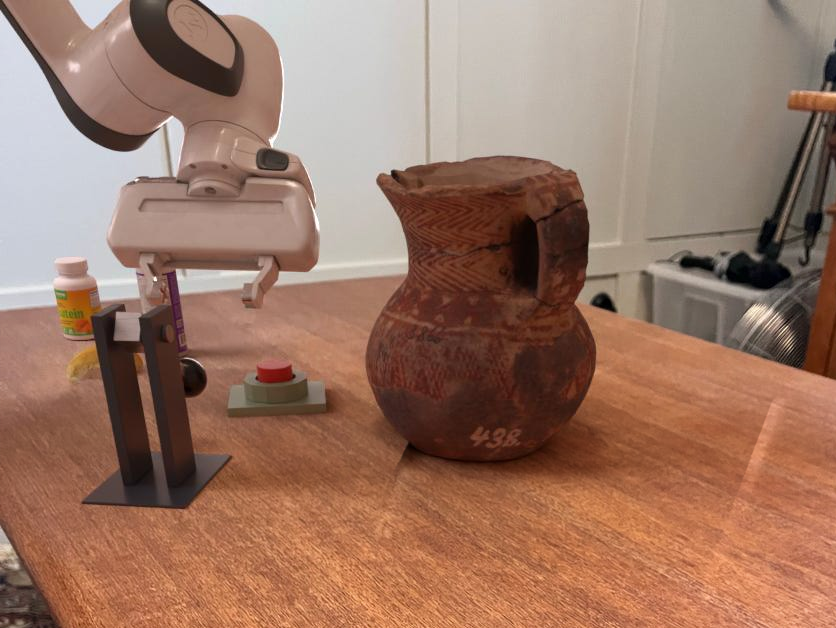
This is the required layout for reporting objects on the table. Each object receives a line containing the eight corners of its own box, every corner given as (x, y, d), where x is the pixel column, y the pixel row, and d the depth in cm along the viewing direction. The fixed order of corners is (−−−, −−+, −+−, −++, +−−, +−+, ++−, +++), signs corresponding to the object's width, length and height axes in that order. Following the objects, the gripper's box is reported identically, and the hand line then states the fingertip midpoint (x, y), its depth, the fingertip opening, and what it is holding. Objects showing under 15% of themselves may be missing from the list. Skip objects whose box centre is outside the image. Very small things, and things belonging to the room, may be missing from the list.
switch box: (229, 429, 104) (224, 391, 102) (233, 404, 111) (228, 368, 109) (327, 423, 105) (324, 386, 103) (325, 400, 112) (322, 364, 110)
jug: (333, 461, 96) (310, 173, 83) (419, 396, 113) (411, 148, 100) (557, 492, 90) (570, 185, 77) (613, 418, 107) (631, 157, 94)
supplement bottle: (56, 340, 134) (39, 263, 129) (76, 329, 139) (61, 255, 134) (94, 341, 133) (79, 264, 128) (113, 331, 138) (99, 256, 133)
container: (171, 346, 131) (152, 223, 123) (195, 352, 129) (177, 226, 121) (142, 355, 128) (120, 228, 120) (166, 361, 125) (145, 232, 118)
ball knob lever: (174, 402, 95) (177, 365, 96) (211, 403, 95) (214, 366, 95) (104, 347, 81) (108, 303, 82) (147, 348, 81) (151, 305, 81)
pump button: (257, 386, 104) (255, 369, 104) (258, 376, 108) (256, 360, 107) (293, 385, 105) (291, 368, 104) (293, 375, 108) (291, 358, 107)
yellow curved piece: (148, 366, 123) (143, 333, 121) (135, 389, 116) (129, 353, 114) (78, 369, 123) (71, 335, 120) (61, 391, 115) (53, 356, 113)
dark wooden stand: (141, 465, 95) (109, 292, 87) (234, 469, 94) (210, 295, 86) (84, 517, 85) (42, 327, 77) (187, 523, 84) (155, 330, 76)
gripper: (109, 154, 97) (83, 281, 94) (316, 157, 95) (297, 287, 92) (136, 198, 104) (113, 319, 100) (331, 201, 101) (314, 325, 98)
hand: (203, 304), depth 96 cm, fingers open, 8 cm apart
